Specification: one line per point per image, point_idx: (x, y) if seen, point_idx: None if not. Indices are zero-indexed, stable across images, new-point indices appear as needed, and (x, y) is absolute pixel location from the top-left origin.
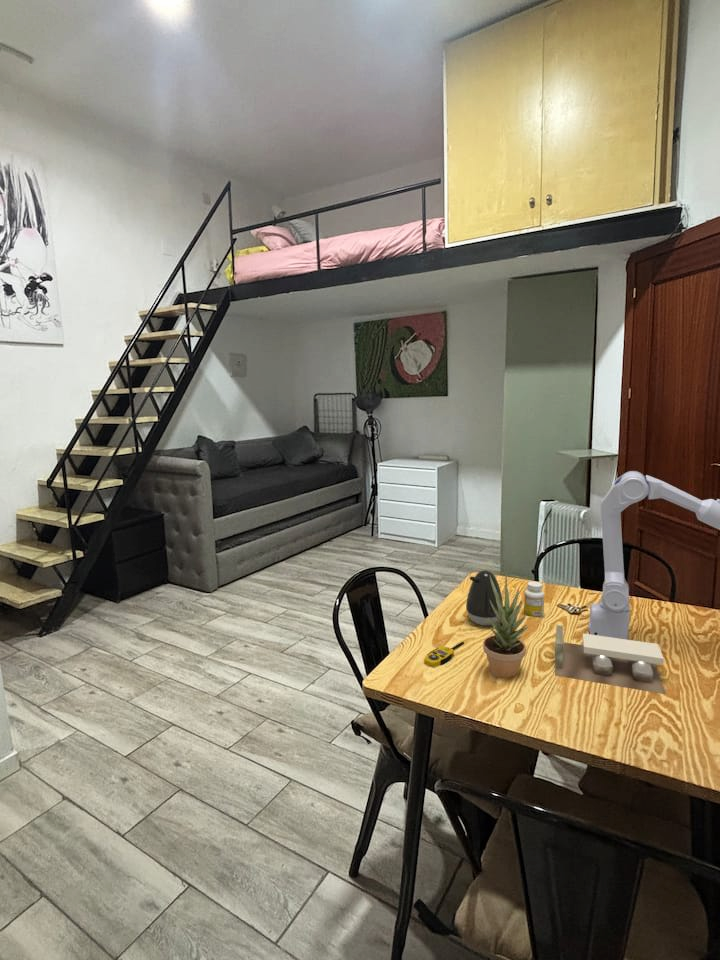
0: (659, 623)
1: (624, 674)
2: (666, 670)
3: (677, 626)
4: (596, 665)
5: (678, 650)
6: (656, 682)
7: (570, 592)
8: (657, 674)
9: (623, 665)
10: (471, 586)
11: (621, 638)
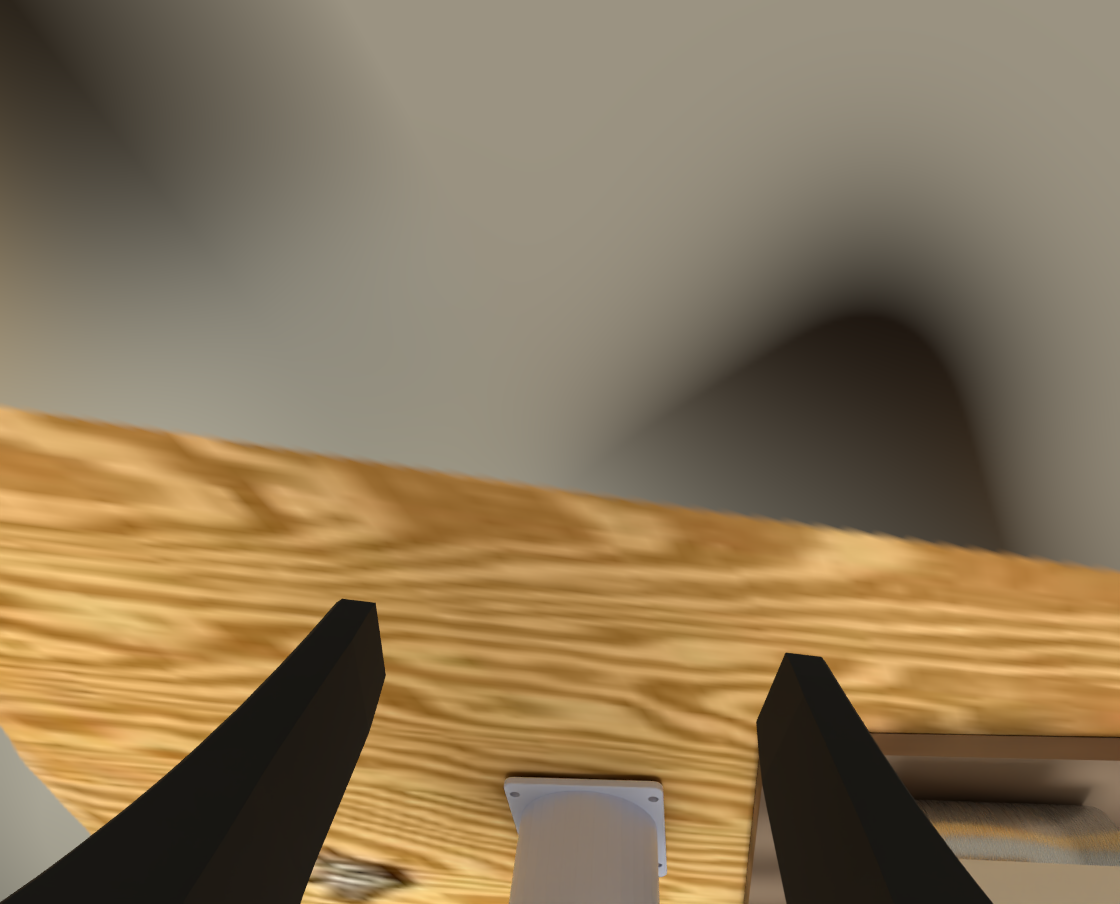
0: (256, 655)
1: None
2: (874, 700)
3: (228, 588)
4: None
5: (591, 628)
6: (1082, 775)
7: None
8: (988, 762)
9: None
10: None
11: (646, 836)
